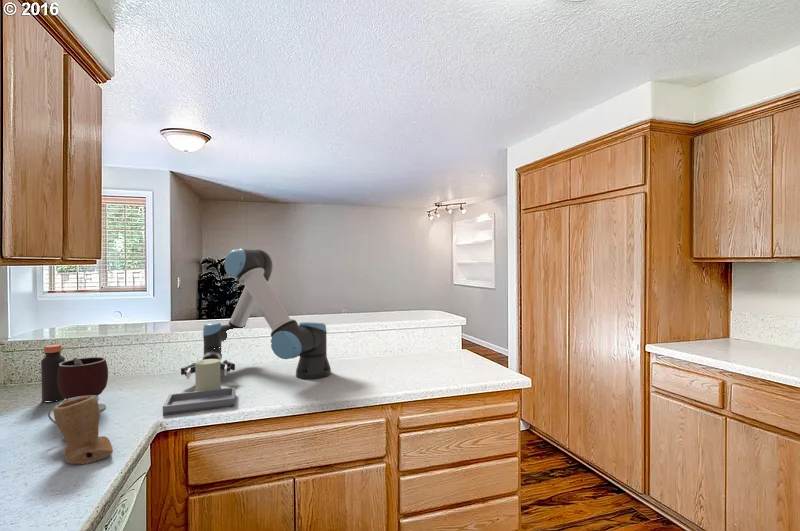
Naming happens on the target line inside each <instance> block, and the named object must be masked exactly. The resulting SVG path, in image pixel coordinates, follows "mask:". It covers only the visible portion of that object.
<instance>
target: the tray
mask: <svg viewBox="0 0 800 531" xmlns="http://www.w3.org/2000/svg"><path fill="white" fill-rule="evenodd" d="M235 405H236V386H235V387H234V386H233V387H225V388H223V387H222V388H221V389H214V390H204V391H196V390H195V391H188V392H187V391H186V392H178V393H177V392H176V393H169V394H168V397H167V398H166V399H165V402H164V403H163V406H162V416H172V415H181V414H187V413H195V412H196V413H197V412H205V411H213V410H221V409H229V408H235Z"/></svg>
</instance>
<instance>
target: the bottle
mask: <svg viewBox="0 0 800 531" xmlns="http://www.w3.org/2000/svg"><path fill="white" fill-rule="evenodd" d="M43 350H44V351H43V352H44V355H45V356H44V357H43V358H42V359H41V361H40V366H41V367H40V369H41V370H40V373H41V401H42V402H43V401H55V402H57V401H56V400H59V401H62V400H65V398H64V397H63V396H62V395H61V394H60V392H59V389H58V384H57V374H58V368H59V364H60V363H62V362H64V361H66V358H65V357H64V356H63V355H61V352H62V344H50V345H45V346H43ZM61 399H62V400H61Z"/></svg>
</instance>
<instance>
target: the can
mask: <svg viewBox="0 0 800 531" xmlns="http://www.w3.org/2000/svg"><path fill="white" fill-rule="evenodd" d="M220 362H221V361H220V360H219V359H204V360H202V359H199V360H197V361H195V362H194V363H195V373H194V374H195V391H204V390H214V389H222V386H221V385H222V384H221V370H220Z"/></svg>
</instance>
